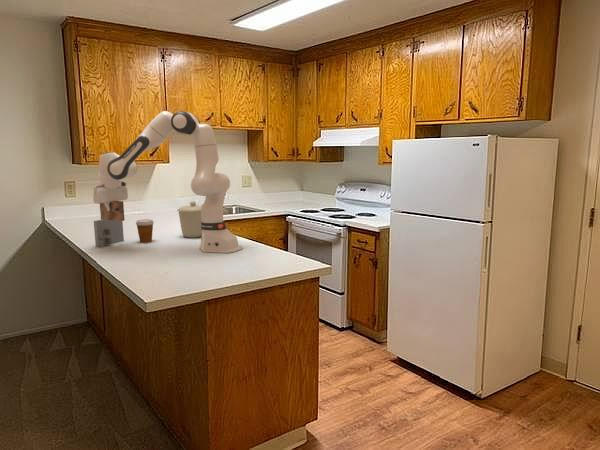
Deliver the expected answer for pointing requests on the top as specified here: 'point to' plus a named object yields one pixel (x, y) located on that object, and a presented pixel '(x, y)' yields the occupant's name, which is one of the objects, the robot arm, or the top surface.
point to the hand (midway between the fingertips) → (112, 210)
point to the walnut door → (112, 211)
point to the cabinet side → (108, 232)
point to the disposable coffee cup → (145, 230)
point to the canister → (191, 220)
